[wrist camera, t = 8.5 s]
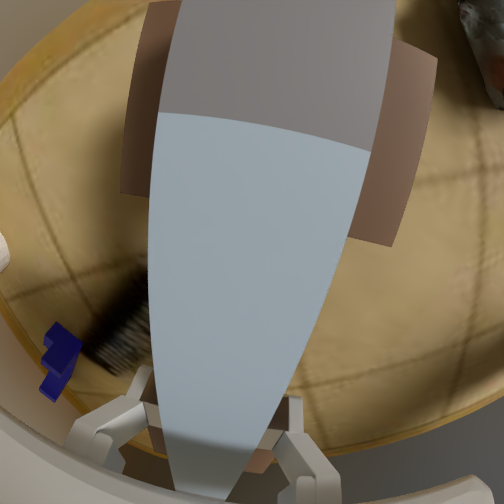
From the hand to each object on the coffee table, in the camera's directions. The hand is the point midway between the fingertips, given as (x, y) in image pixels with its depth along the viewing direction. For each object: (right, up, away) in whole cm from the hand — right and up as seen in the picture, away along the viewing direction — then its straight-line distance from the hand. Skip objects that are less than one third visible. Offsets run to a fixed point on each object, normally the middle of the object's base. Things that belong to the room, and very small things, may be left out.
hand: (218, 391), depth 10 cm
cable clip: (-25, -9, +22) cm, 35 cm away
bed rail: (0, +1, +1) cm, 2 cm away
